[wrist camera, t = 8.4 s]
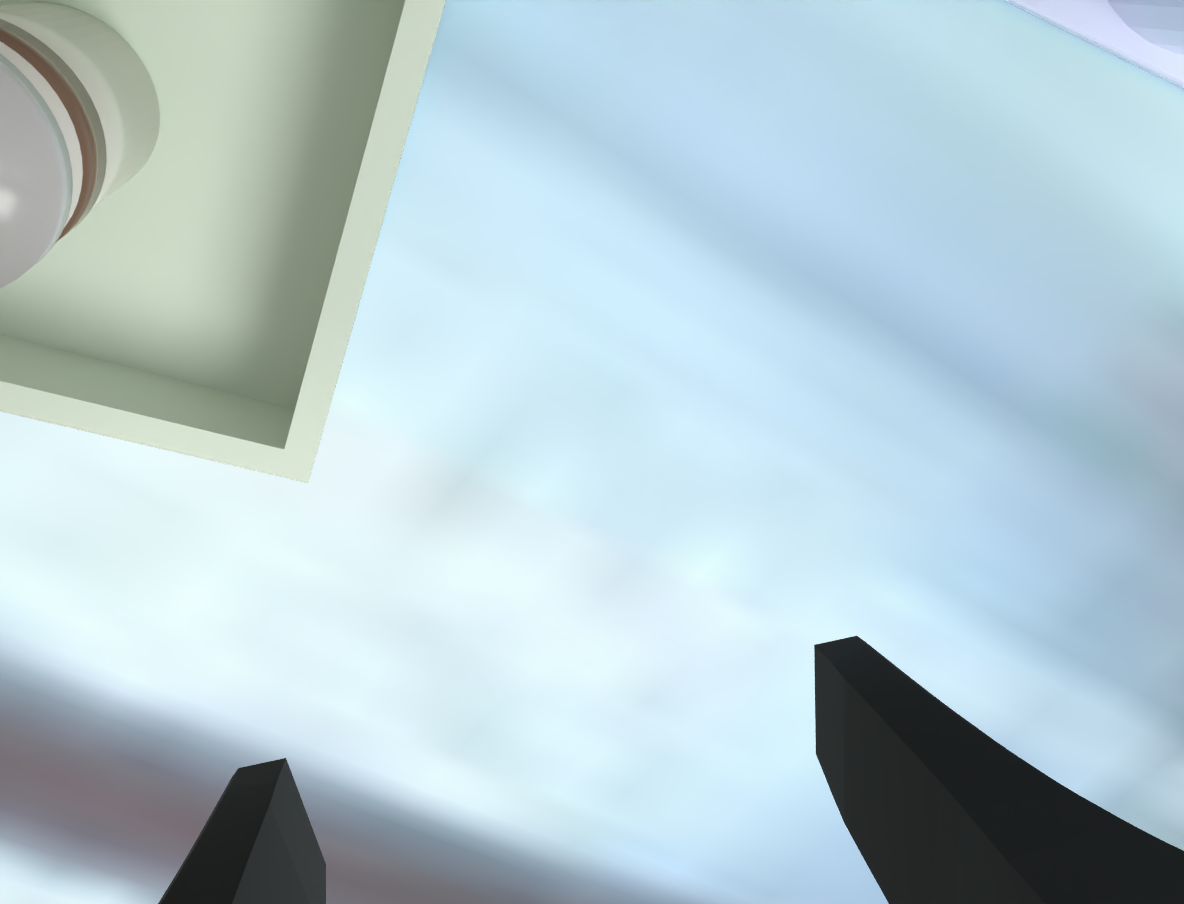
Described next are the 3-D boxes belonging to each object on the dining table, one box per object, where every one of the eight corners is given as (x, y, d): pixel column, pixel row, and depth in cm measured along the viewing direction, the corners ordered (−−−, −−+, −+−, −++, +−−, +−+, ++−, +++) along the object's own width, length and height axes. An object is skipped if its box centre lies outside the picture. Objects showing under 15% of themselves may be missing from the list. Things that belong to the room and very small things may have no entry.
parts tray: (456, -61, 17) (464, -63, 15) (318, 429, 21) (308, 482, 19) (-287, -376, 14) (-416, -439, 12) (-291, 275, 18) (-390, 320, 15)
